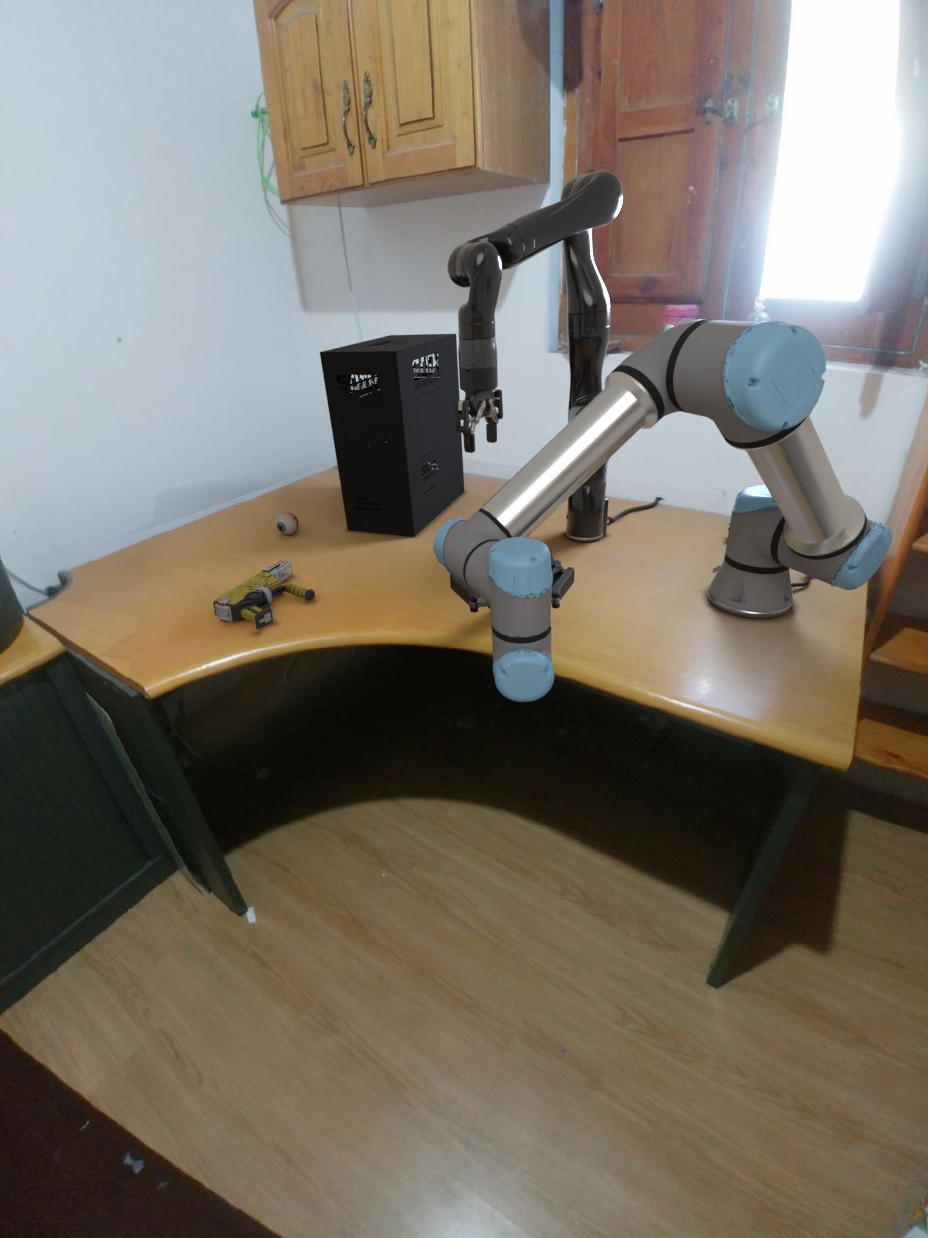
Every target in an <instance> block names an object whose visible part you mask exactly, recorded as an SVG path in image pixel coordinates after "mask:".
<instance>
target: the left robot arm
mask: <svg viewBox="0 0 928 1238" xmlns="http://www.w3.org/2000/svg"><path fill="white" fill-rule="evenodd" d="M623 199H624V190H623V186H622V182H621V180H620V178H619V177H618V176H617V175H616V173H614V172H612V171H610V170H595V171H591V172H589V173H585V174H584V173H583V174H581V175H576V176H574V177H572V178H569V179H568V180H567V181H566V182H565V184H564V186H563V188H562V191H561V195H560V200H559V201H557V202H554V203H552V204H550V205H547V206H544V207H541V208H538V209H536V210H533V211H530V212H527V213H525V214H523V215H521V216H518V217H516V218H515V219H513V220H511V221H509V222H506V223H505V224H503V225H502V226H500V227H499V228H497V229H494V231H490V232H488V233H485V234H483V235H480V236H477V237H474V238H472V239H469V240H466V241H464V242H462V243H460V244H459V245H457V246H456V247H455V248H454V249H453V250H452V252H451V253H450V254H449V257H448V260H447V265H446V269H447V274H448V277H449V279H450V280H451V282H452V283H453V284H455V285H456V286H458V287H460V288H464V289H469V292H468V299H467V302H466V303H463V304H462V305H460V307H459V308H458V310H457V328H458V329H457V330H458V331H457V332H458V346H457V359H458V378H459V389H460V391H463V392H464V393H465V394H464V399H463V400H462V399H460V400H456V401H455V424H456V432H461V434H462V436H463V437H462V439H463V448H464V449H463V450H464V452H465V453H469V454H473V453H475V452H476V434H475V431H476V427H477V425H479V424H480V421H481V419H483V418H484V421H485V422H486V425H485V429H486V430H485V433H486V435H485V436H486V442H488V443H490V444H495V443H497V441H498V424H499V422H500V420H503V418H504V407H503V406H504V405H503V390H502V389H499V388H498V386H499V385H498V384H499V378H498V377H499V376H498V347H497V338H496V315H495V314H496V309H497V305H498V302H499V301H498V300H499V295H500V288H501V284H502V280H503V279H502V278H503V271H506V270H511V269H515V268H516V267H519V266H520V265H521V264H523V263H525V262H527V261H529V260H530V259H533V258H534V257H535V256H537V255H539V254H541V253H543V252H544V251H546V250H548V249H549V248H551V247H553V246H555V245H557V244H559V243H561V242H562V244H563V253H564V254H563V255H564V264H565V284H566V285H565V286H566V335H567V348H568V349H567V351H568V352H567V353H568V363H569V365H568V366H569V375H570V376H569V392H568V393H569V394H568V408H567V424H568V423H569V422H570V421H571V420H572V419H574V418H575V417H576V416H577V415H578V414H579V413H580V412H581V411H582V410H583V409H584V408H585V407H586V406H587V405H588V404H589V403H590V402H591V401H592V400H593V399H594V398H595V397H596V396H597V395H598V394H599V393H601V392H602V391H603V369H604V362H605V358H606V354H607V351H608V350H607V349H608V347H609V342H610V341H609V340H610V334H611V298H610V295H609V291H608V288H607V287H606V284H605V281H604V280H603V277H602V275H601V274H600V271H599V269H598V267H597V264H596V262H595V256H594V252H593V229H600V228H603V227H605V226H607V225H609V224H611V223H612V222H613V221H614V220H615V219H616V218H617V216H618V215H619V213H620V211H621V208H622V205H623V201H624V200H623ZM610 459H611V457H610V458H609V459H608V460H607V461H606V462H605V463H604V464H603V465H602V466H601V467H600V468H599V469H598V470H597V471H596V472H595V473H594V474H593V475H592V476H591V477H590V478H589V479H588V480H586V481H585V482H584V483H583V484H582V485H581V486H580V487H579V488H578V489H577V490H576V491H575V492H574V493H573V494H572V495H571V496H570V497H569V498H568V499H567V500H566V502H567V503H566V516H565V518H566V527H565V536H566V537H567V538H568V539H570V540H572V541H576V542H583V543H584V542H586V543H587V542H594V541H599V540H600V539H602V538H604V536H607V530H608V529H607V528H608V527H607V526H608V521H609V522H611V523H612V522H613V523H614V522H615V521H617V520H619V519H620V518H621V517H622V516H624V515H626V514H628V513H630V512H634V511H639V510H644V509H649V508H651V507H654V506H656V505H657V504H658V502H659V500H660V501H661V500H662V499H663V498H662V496H661V497H660V498H659V497H657V496H656V497H655V500H654V501H653V502H652V503H648V504H644V505H639V506H634V507H630V508H627V509H624V510H622V511H621V512H620V513H618V514H617V515H616V516H615V517H612V516H608V514H609V498H607V497H606V493H607V477H608V465H609V460H610Z"/></svg>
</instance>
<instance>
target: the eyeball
mask: <svg viewBox="0 0 928 1238" xmlns="http://www.w3.org/2000/svg"><path fill="white" fill-rule="evenodd" d="M299 525H300V522H299V519H298V517H297V516H296V515H295V514H294V513H292V512H287V511H286V512H282V513H280V514H279V515H278V516H277V517H276V520H275V527H276V529H277V530H278V531H279V532H280V533H281V534H282V535H285V536H286V535H287V536H289V535H293V534H295V533H296V532H297V531H298V529H299Z"/></svg>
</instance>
